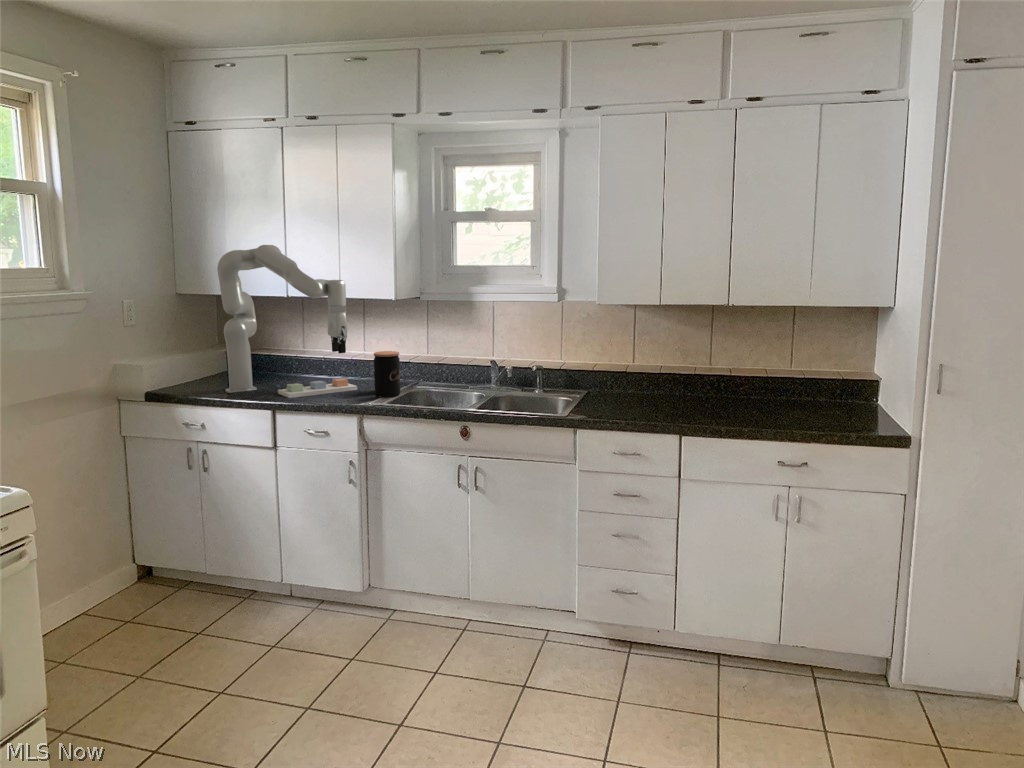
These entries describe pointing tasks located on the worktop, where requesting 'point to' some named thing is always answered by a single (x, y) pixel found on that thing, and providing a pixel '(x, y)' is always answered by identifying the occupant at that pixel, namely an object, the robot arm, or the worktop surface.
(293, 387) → the sage button
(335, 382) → the terracotta button
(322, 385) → the slate button
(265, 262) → the robot arm
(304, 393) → the button panel
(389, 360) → the coffee jar
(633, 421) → the worktop surface
